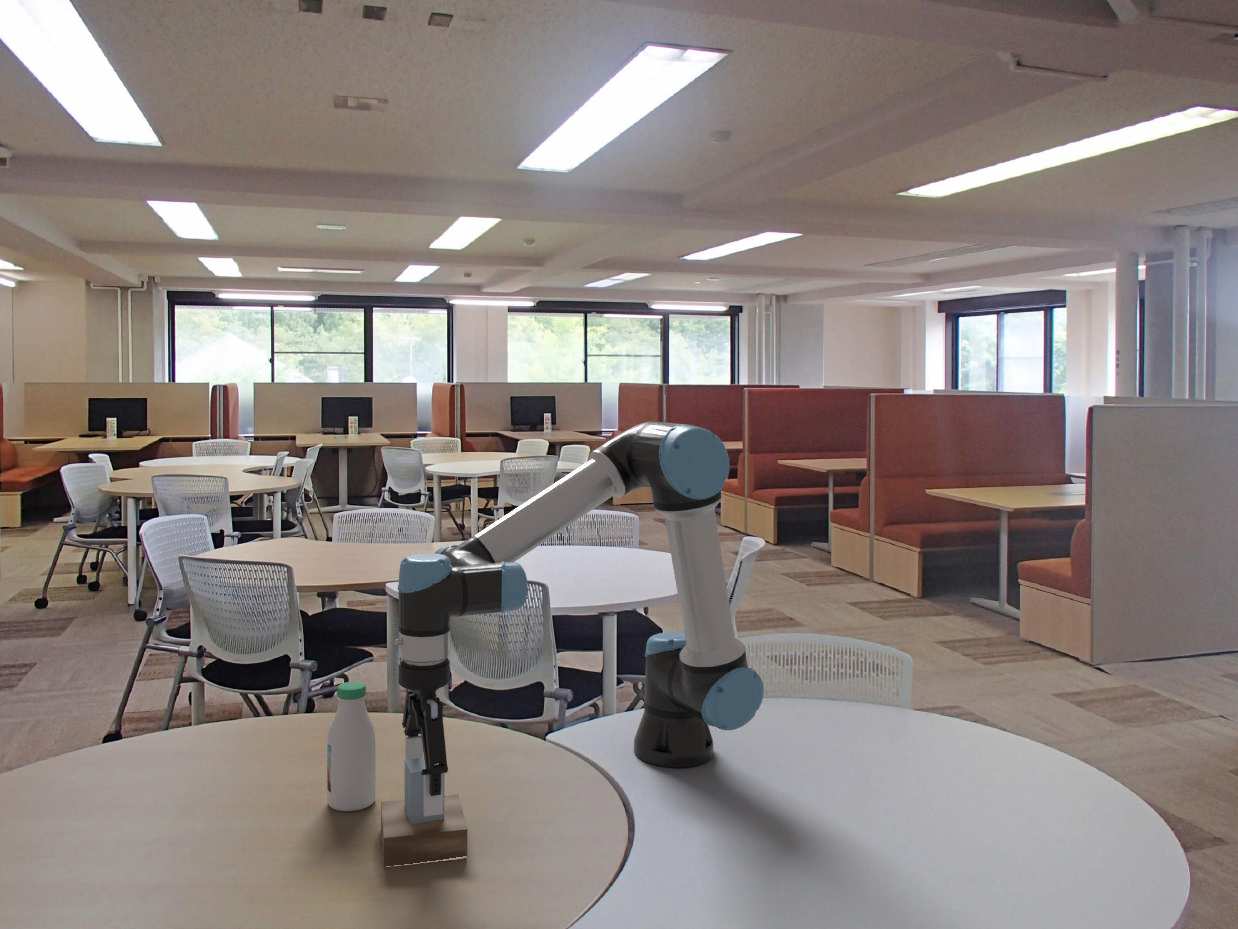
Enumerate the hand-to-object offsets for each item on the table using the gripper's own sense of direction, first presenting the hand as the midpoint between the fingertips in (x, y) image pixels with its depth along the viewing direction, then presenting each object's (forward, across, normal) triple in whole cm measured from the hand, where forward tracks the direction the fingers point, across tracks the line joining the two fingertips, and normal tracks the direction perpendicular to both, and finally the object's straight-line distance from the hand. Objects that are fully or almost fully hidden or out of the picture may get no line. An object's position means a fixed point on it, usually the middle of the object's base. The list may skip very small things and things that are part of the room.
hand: (423, 795), depth 149 cm
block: (+3, 0, 0) cm, 3 cm away
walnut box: (+8, 0, 0) cm, 8 cm away
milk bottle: (+8, -18, -8) cm, 21 cm away
